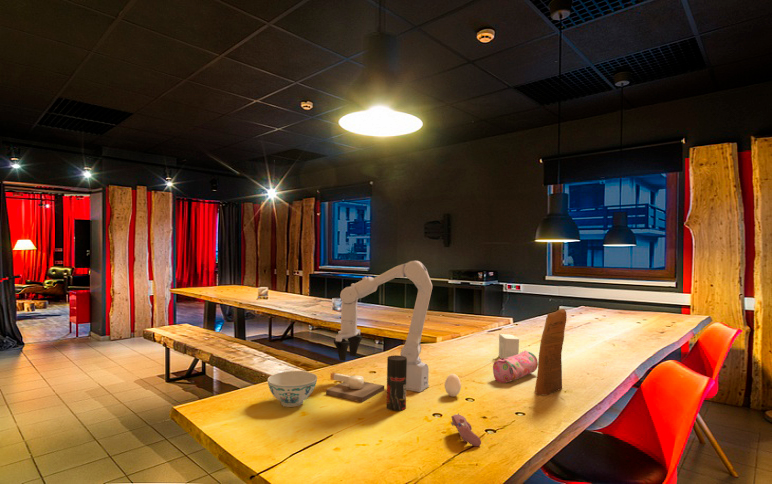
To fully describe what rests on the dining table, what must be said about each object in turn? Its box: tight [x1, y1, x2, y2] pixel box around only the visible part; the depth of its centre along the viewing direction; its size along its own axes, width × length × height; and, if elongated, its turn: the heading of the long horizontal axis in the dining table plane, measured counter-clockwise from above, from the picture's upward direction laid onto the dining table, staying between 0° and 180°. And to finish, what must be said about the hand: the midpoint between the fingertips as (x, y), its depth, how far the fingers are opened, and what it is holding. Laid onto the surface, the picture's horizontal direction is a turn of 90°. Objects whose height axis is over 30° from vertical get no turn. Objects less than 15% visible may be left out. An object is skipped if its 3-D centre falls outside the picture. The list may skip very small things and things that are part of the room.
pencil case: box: [492, 350, 538, 384], centre depth 165 cm, size 21×9×9 cm, turn 134°
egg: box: [444, 373, 462, 397], centre depth 142 cm, size 5×5×7 cm
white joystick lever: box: [330, 372, 365, 389], centre depth 146 cm, size 12×5×3 cm, turn 61°
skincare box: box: [498, 333, 520, 359], centre depth 192 cm, size 10×6×10 cm, turn 179°
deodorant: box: [386, 355, 407, 412], centre depth 131 cm, size 6×6×15 cm
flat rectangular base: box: [325, 381, 385, 403], centre depth 144 cm, size 14×14×2 cm
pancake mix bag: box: [534, 308, 567, 396], centre depth 150 cm, size 7×19×28 cm, turn 133°
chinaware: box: [267, 370, 318, 408], centre depth 133 cm, size 15×15×8 cm
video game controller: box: [450, 412, 482, 447], centre depth 110 cm, size 10×5×7 cm, turn 5°
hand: (347, 357), depth 155 cm, fingers open, 7 cm apart
